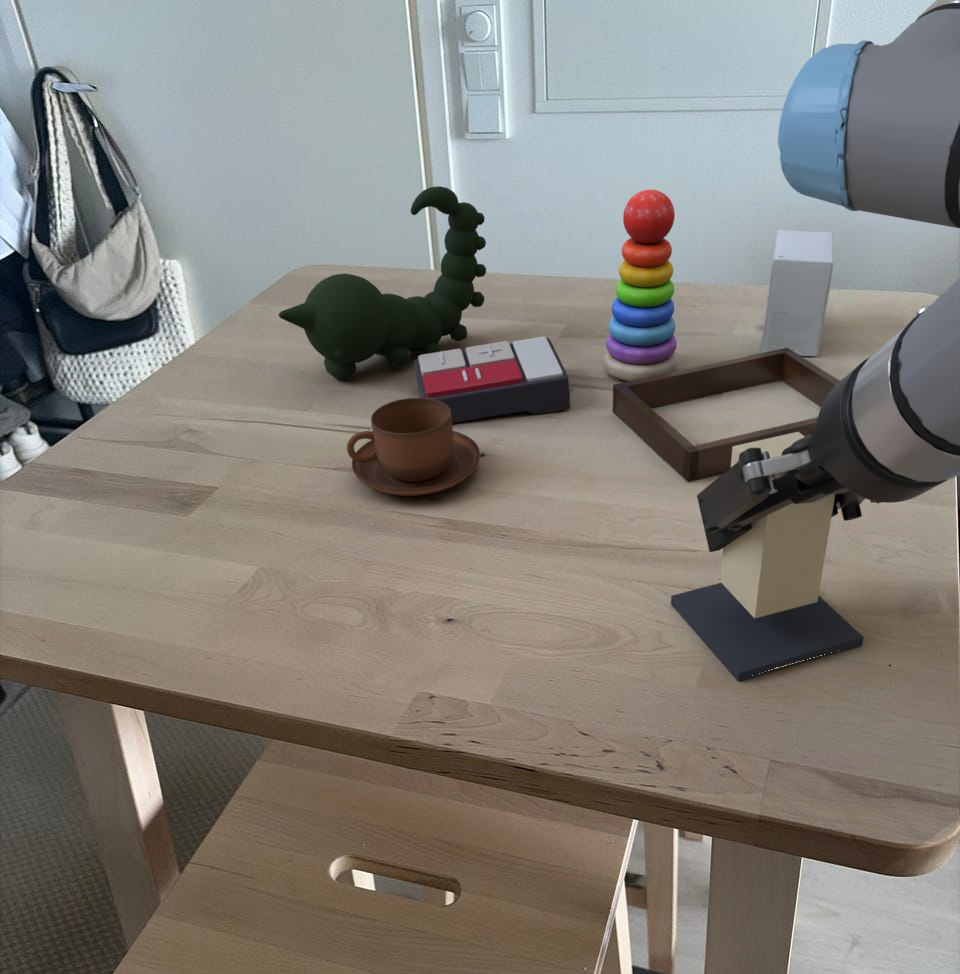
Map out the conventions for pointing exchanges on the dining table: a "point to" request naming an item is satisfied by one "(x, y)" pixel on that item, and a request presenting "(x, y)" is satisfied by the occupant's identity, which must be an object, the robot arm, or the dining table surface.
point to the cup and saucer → (413, 449)
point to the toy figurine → (396, 301)
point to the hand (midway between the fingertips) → (750, 526)
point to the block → (778, 549)
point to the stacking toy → (644, 293)
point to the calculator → (495, 379)
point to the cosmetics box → (798, 291)
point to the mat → (763, 631)
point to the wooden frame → (707, 380)
